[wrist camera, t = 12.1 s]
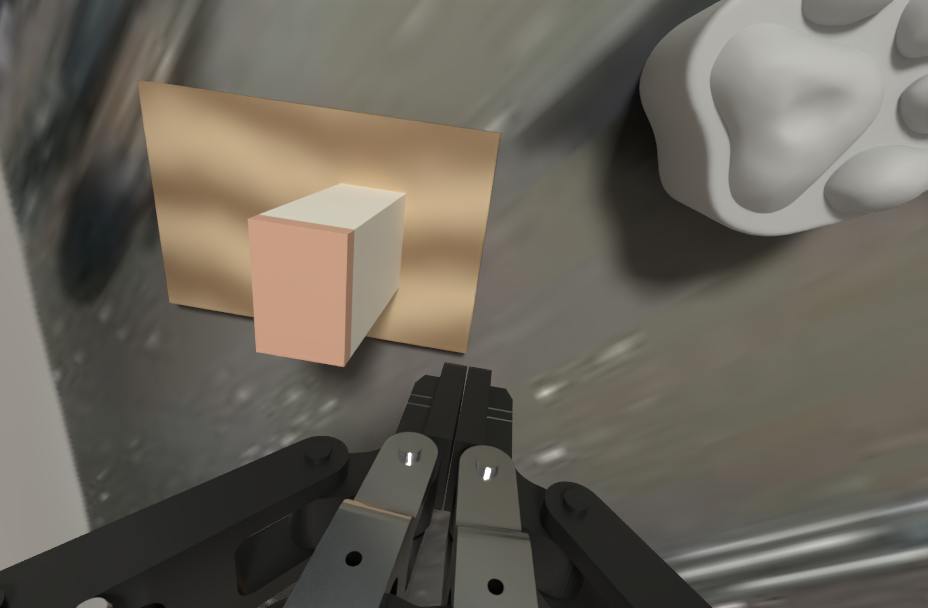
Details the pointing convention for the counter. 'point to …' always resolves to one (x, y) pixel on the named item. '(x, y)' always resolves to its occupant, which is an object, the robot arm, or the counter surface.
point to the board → (304, 173)
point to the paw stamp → (792, 111)
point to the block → (324, 271)
